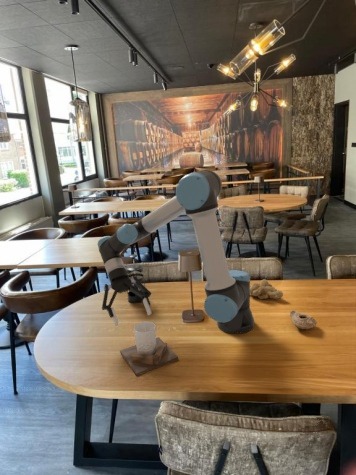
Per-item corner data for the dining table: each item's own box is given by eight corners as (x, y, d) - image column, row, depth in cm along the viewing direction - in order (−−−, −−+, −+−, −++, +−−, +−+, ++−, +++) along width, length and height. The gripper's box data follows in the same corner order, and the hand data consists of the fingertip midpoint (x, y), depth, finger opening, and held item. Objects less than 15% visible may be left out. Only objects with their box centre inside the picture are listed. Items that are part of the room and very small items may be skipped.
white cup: (155, 357, 121) (153, 332, 118) (133, 357, 122) (131, 332, 119) (158, 345, 128) (156, 321, 126) (138, 344, 129) (135, 321, 126)
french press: (147, 302, 166) (143, 257, 160) (128, 304, 164) (123, 259, 158) (145, 292, 177) (141, 250, 171) (127, 294, 176) (122, 252, 170)
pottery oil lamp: (299, 315, 145) (308, 303, 142) (312, 338, 135) (322, 326, 132) (282, 312, 143) (291, 300, 139) (294, 335, 133) (303, 322, 129)
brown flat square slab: (120, 352, 127) (119, 344, 126) (158, 339, 134) (158, 331, 133) (136, 375, 114) (135, 367, 113) (178, 359, 121) (177, 351, 120)
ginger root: (242, 287, 174) (246, 273, 171) (272, 293, 174) (277, 278, 172) (247, 302, 159) (251, 286, 156) (280, 308, 159) (285, 293, 157)
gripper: (142, 268, 148) (160, 313, 140) (85, 282, 137) (101, 332, 128) (146, 260, 142) (165, 306, 134) (87, 274, 131) (103, 325, 122)
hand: (133, 319), depth 131 cm, fingers open, 13 cm apart
